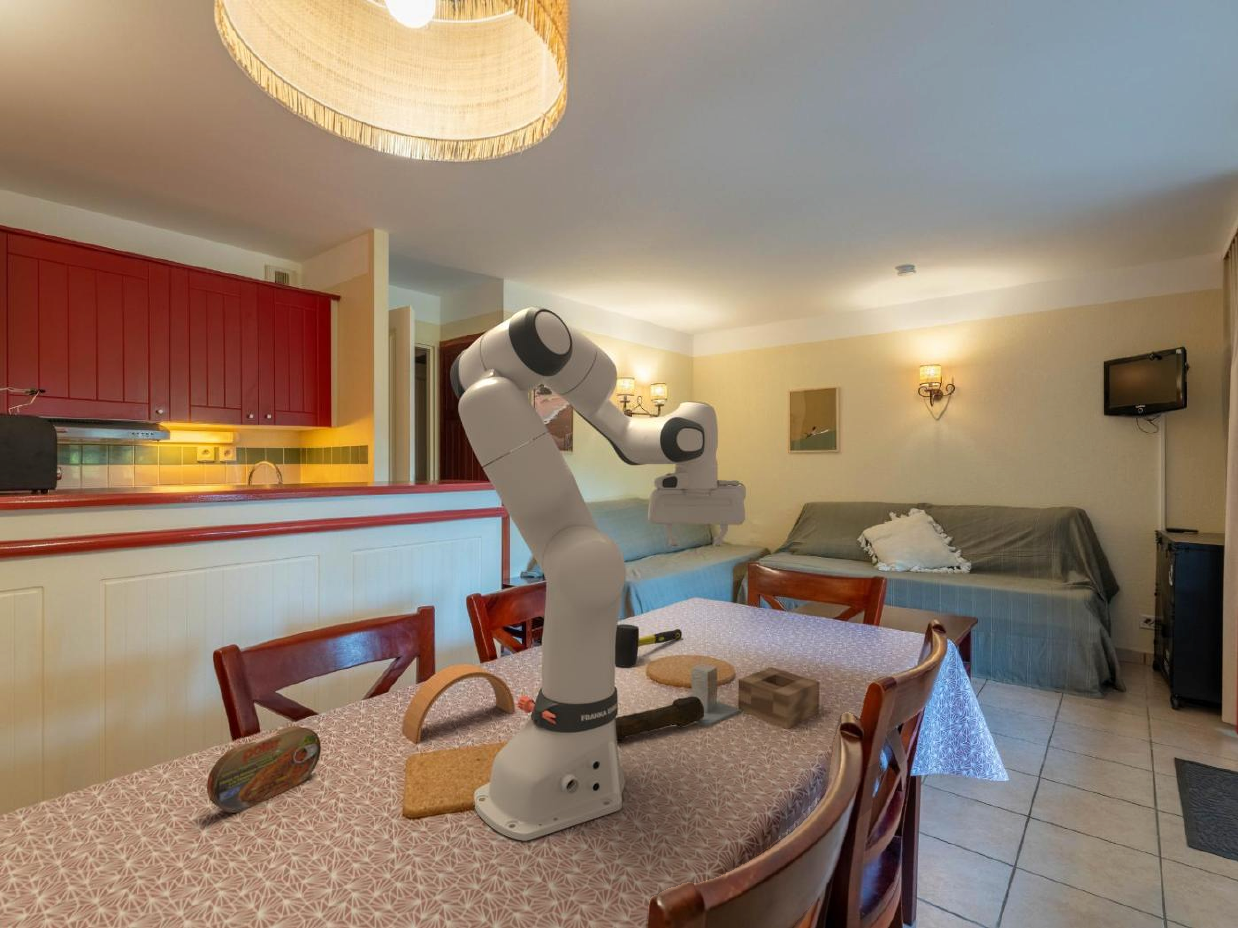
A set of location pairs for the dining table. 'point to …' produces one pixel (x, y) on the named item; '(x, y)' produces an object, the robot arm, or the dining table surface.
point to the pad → (718, 714)
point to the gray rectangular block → (705, 686)
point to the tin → (263, 768)
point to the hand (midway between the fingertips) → (695, 545)
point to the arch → (440, 684)
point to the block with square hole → (778, 697)
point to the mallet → (637, 642)
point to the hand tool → (660, 717)
